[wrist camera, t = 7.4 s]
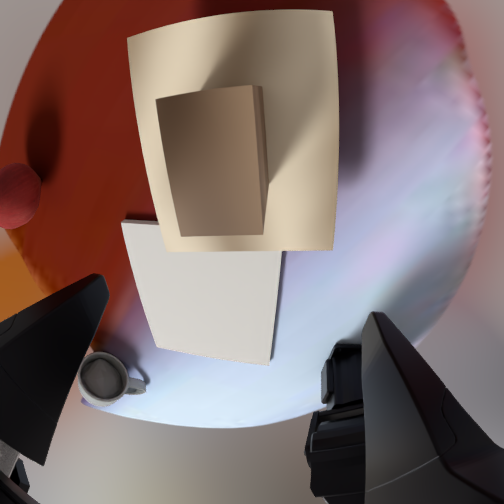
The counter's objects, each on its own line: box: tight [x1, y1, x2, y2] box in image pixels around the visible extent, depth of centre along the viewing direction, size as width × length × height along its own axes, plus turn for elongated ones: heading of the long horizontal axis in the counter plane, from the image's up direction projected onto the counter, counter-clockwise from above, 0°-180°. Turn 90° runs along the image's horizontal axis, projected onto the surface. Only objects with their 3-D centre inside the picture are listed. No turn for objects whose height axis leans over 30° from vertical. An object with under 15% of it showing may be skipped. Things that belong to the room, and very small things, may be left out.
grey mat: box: [121, 219, 282, 366], centre depth 25 cm, size 13×16×1 cm
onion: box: [0, 163, 41, 229], centre depth 17 cm, size 6×6×8 cm
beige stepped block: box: [127, 10, 339, 252], centre depth 11 cm, size 10×13×6 cm
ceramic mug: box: [78, 352, 146, 407], centre depth 34 cm, size 11×8×8 cm
